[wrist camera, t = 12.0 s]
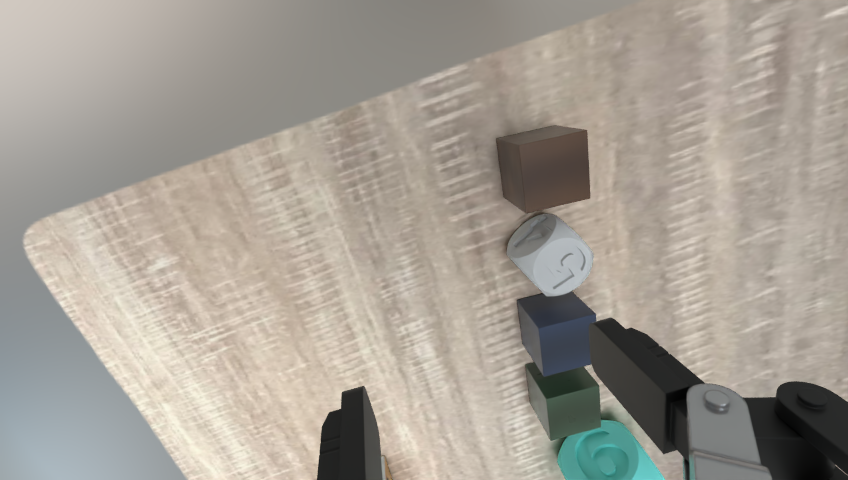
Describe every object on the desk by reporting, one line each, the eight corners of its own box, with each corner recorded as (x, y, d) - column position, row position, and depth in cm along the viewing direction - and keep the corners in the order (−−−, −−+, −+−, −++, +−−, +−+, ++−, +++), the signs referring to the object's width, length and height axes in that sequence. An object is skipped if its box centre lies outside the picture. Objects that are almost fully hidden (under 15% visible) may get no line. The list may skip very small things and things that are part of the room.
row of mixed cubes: (496, 138, 32) (518, 145, 28) (555, 125, 33) (587, 129, 28) (529, 403, 42) (550, 441, 37) (575, 391, 42) (601, 427, 38)
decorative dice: (576, 484, 47) (616, 557, 40) (546, 444, 44) (584, 514, 37) (635, 449, 47) (687, 516, 39) (609, 406, 44) (660, 469, 36)
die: (498, 245, 35) (518, 268, 31) (541, 206, 35) (568, 223, 30) (532, 280, 37) (556, 307, 32) (573, 243, 36) (604, 264, 32)
